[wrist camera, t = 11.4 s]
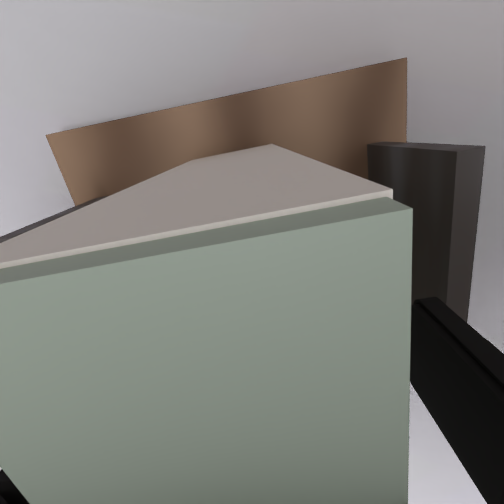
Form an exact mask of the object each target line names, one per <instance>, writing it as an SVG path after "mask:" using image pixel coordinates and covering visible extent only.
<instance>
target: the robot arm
mask: <svg viewBox="0 0 504 504" xmlns="http://www.w3.org/2000/svg"><path fill="white" fill-rule="evenodd" d="M410 382H411V384H412V386H413V387H414V389H415V390H416V392H417V394H418V395H419V397H420V398H421V400H422V402H423V403H424V405H425V406H426V408H427V409H428V411H429V413H430V414H431V416H432V417H433V419H434V420H435V422H436V424H437V425H438V427H439V428H440V430H441V432H442V433H443V435H444V436H445V438H446V439H447V441H448V443H449V444H450V446H451V447H452V449H453V450H454V452H455V454H456V455H457V457H458V458H459V460H460V461H461V463H462V465H463V466H464V468H465V469H466V471H467V473H468V474H469V476H470V477H471V479H472V480H473V482H474V484H475V485H476V487H477V488H478V490H479V491H480V493H481V495H482V496H483V498H484V499H485V501H486V502H487V504H504V354H503V353H502V352H501V351H500V350H498V349H497V348H496V347H495V346H494V345H493V344H492V343H490V342H489V341H488V340H486V339H485V338H483V337H482V336H481V335H480V334H479V333H478V332H477V331H475V330H474V329H473V328H472V327H471V326H470V325H469V324H468V323H466V322H465V321H464V320H463V319H462V318H461V317H460V316H458V315H457V314H456V313H455V312H454V311H453V310H452V309H450V308H449V307H448V306H447V305H446V304H445V303H444V302H442V301H441V300H440V299H439V298H437V297H428V298H422V299H416V300H415V301H414V303H413V305H411V343H410ZM0 504H30V503H29V502H28V501H27V500H26V498H25V497H24V496H23V495H22V493H21V492H20V491H19V490H18V488H17V487H16V486H15V485H14V483H13V482H12V481H11V480H10V478H9V477H8V476H7V475H6V473H5V472H4V471H3V470H1V471H0Z"/></svg>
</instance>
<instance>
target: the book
mask: <svg viewBox="0 0 504 504" xmlns="http://www.w3.org/2000/svg"><path fill="white" fill-rule="evenodd" d="M412 227H413V208H411V207H409V206H406V205H404V204H402V203H400V202H397V201H395V200H393V189H391V188H388V187H386V186H383V185H380V184H378V183H375V182H372V181H370V180H367V179H364V178H362V177H359V176H356V175H354V174H351V173H348V172H346V171H343V170H340V169H338V168H335V167H333V166H330V165H327V164H325V163H322V162H319V161H317V160H314V159H311V158H309V157H306V156H303V155H301V154H298V153H295V152H293V151H290V150H287V149H285V148H282V147H279V146H277V145H274V144H268V145H263V146H258V147H253V148H248V149H244V150H239V151H234V152H229V153H224V154H219V155H214V156H209V157H204V158H199V159H194V160H191V161H189V162H186V163H184V164H182V165H180V166H177V167H175V168H173V169H170V170H168V171H166V172H163V173H161V174H159V175H157V176H154V177H152V178H150V179H147V180H145V181H143V182H140V183H138V184H136V185H133V186H131V187H129V188H127V189H124V190H122V191H120V192H117V193H115V194H113V195H110V196H108V197H106V198H103V199H101V200H99V201H97V202H94V203H92V204H90V205H87V206H85V207H83V208H80V209H78V210H76V211H73V212H71V213H69V214H67V215H64V216H62V217H60V218H57V219H55V220H53V221H50V222H48V223H46V224H43V225H41V226H39V227H37V228H34V229H32V230H30V231H27V232H25V233H23V234H20V235H18V236H16V237H13V238H11V239H9V240H7V241H4V242H2V243H0V467H1V468H2V470H3V471H4V472H5V473H6V475H7V476H8V477H9V478H10V480H11V481H12V482H13V483H14V485H15V486H16V487H17V488H18V490H19V491H20V492H21V493H22V495H23V496H24V497H25V498H26V500H27V501H28V502H29V503H30V504H408V458H409V400H410V343H411V285H412Z"/></svg>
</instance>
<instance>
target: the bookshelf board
mask: <svg viewBox="0 0 504 504" xmlns="http://www.w3.org/2000/svg"><path fill="white" fill-rule="evenodd" d="M406 123H407V58H402V59H397V60H393V61H388V62H383V63H379V64H374V65H369V66H365V67H360V68H356V69H351V70H346V71H342V72H337V73H332V74H328V75H323V76H318V77H314V78H309V79H304V80H300V81H295V82H290V83H286V84H281V85H276V86H272V87H267V88H262V89H258V90H253V91H248V92H244V93H239V94H235V95H230V96H225V97H221V98H216V99H211V100H207V101H202V102H197V103H193V104H188V105H183V106H179V107H174V108H169V109H165V110H160V111H155V112H151V113H146V114H141V115H137V116H132V117H127V118H123V119H118V120H114V121H109V122H104V123H100V124H95V125H90V126H86V127H81V128H76V129H72V130H67V131H62V132H58V133H53V134H48V135H46V138H47V140H48V142H49V145H50V147H51V149H52V152H53V154H54V156H55V159H56V161H57V164H58V166H59V168H60V171H61V173H62V175H63V178H64V180H65V182H66V185H67V187H68V189H69V192H70V194H71V197H72V199H73V201H74V204H75V207H73V208H70V209H68V210H65V211H63V212H60V213H58V214H55V215H53V216H50V217H48V218H46V219H43V220H41V221H38V222H36V223H33V224H31V225H28V226H26V227H24V228H21V229H19V230H16V231H14V232H11V233H9V234H6V235H4V236H2V237H0V243H2V242H4V241H7V240H9V239H11V238H13V237H16V236H18V235H20V234H23V233H25V232H27V231H30V230H32V229H34V228H37V227H39V226H41V225H43V224H46V223H48V222H50V221H53V220H55V219H57V218H60V217H62V216H64V215H67V214H69V213H71V212H73V211H76V210H78V209H80V208H83V207H85V206H87V205H90V204H92V203H94V202H97V201H99V200H101V199H103V198H106V197H108V196H110V195H113V194H115V193H117V192H120V191H122V190H124V189H127V188H129V187H131V186H133V185H136V184H138V183H140V182H143V181H145V180H147V179H150V178H152V177H154V176H157V175H159V174H161V173H163V172H166V171H168V170H170V169H173V168H175V167H177V166H180V165H182V164H184V163H186V162H189V161H191V160H194V159H199V158H204V157H209V156H214V155H219V154H224V153H229V152H234V151H239V150H244V149H248V148H253V147H258V146H263V145H268V144H274V145H277V146H279V147H282V148H285V149H287V150H290V151H293V152H295V153H298V154H301V155H303V156H306V157H309V158H311V159H314V160H317V161H319V162H322V163H325V164H327V165H330V166H333V167H335V168H338V169H340V170H343V171H346V172H348V173H351V174H354V175H356V176H359V177H362V178H364V179H367V180H370V181H372V182H375V183H378V184H380V185H383V186H386V187H388V188H391V189H393V200H395V201H397V202H400V203H402V204H404V205H406V206H409V207H411V208H413V227H412V285H411V305H413V303H414V301H415V300H416V299H422V298H428V297H437V298H439V299H440V300H441V301H442V302H444V303H445V304H446V305H447V306H448V307H449V308H450V309H452V310H453V311H454V312H455V313H456V314H457V315H458V316H460V317H461V318H462V319H463V320H464V321H465V322H466V323H467V318H468V308H469V299H470V289H471V280H472V270H473V261H474V251H475V242H476V232H477V222H478V213H479V203H480V194H481V184H482V175H483V165H484V156H485V146H472V145H451V144H429V143H407V142H406Z"/></svg>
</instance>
